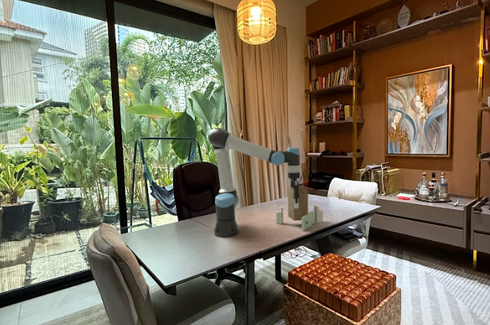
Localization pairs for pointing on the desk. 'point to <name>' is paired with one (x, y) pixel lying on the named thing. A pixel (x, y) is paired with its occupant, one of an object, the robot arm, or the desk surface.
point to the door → (308, 220)
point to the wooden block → (303, 203)
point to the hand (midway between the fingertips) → (294, 205)
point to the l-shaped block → (317, 215)
